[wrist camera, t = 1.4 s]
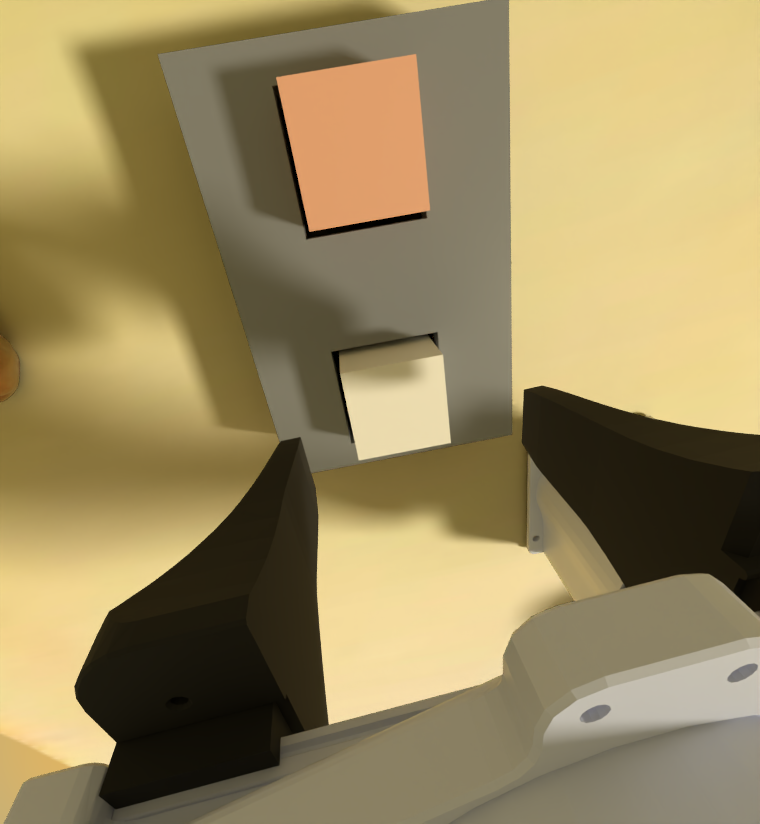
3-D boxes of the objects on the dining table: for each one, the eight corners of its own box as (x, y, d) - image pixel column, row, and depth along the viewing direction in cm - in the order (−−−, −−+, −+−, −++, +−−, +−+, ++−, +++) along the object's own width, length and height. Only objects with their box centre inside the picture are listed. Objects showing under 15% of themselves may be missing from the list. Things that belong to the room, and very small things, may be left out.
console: (484, 400, 23) (512, 434, 20) (297, 436, 23) (290, 477, 20) (469, 44, 16) (508, -4, 13) (196, 90, 16) (157, 53, 12)
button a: (432, 407, 20) (450, 442, 17) (354, 422, 20) (358, 460, 17) (424, 330, 19) (442, 354, 15) (338, 346, 18) (340, 373, 15)
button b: (411, 210, 16) (430, 210, 13) (313, 228, 16) (309, 231, 13) (398, 88, 15) (416, 53, 11) (288, 106, 14) (275, 76, 11)
